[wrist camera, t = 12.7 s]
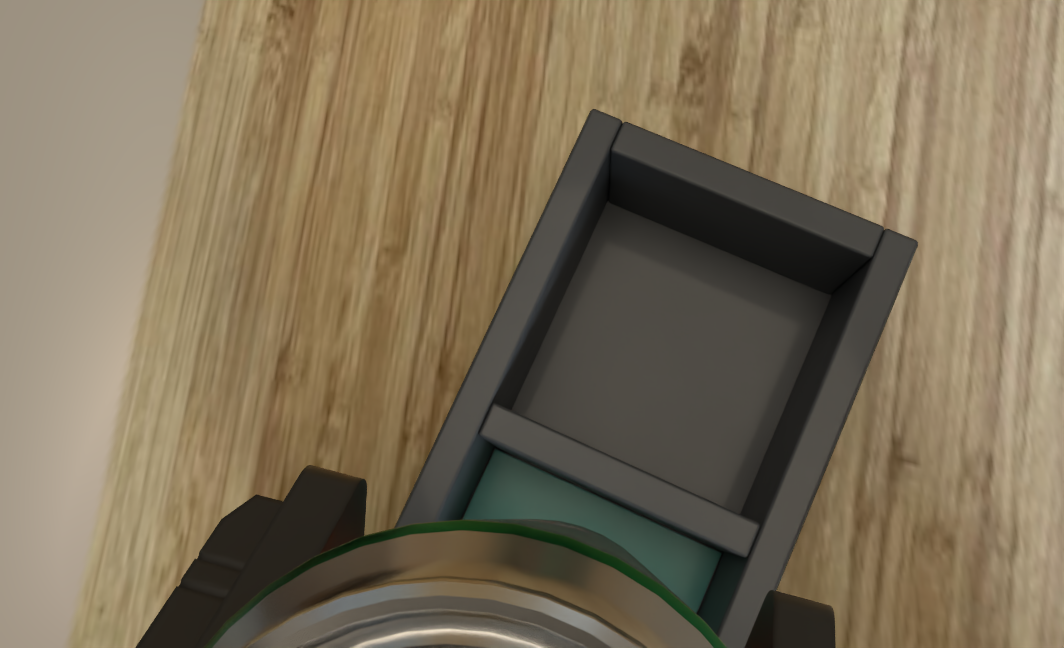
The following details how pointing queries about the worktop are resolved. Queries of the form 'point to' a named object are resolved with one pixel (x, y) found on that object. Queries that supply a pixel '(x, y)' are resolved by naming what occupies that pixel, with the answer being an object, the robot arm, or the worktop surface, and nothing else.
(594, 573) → the soda can
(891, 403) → the worktop surface
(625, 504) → the holder
